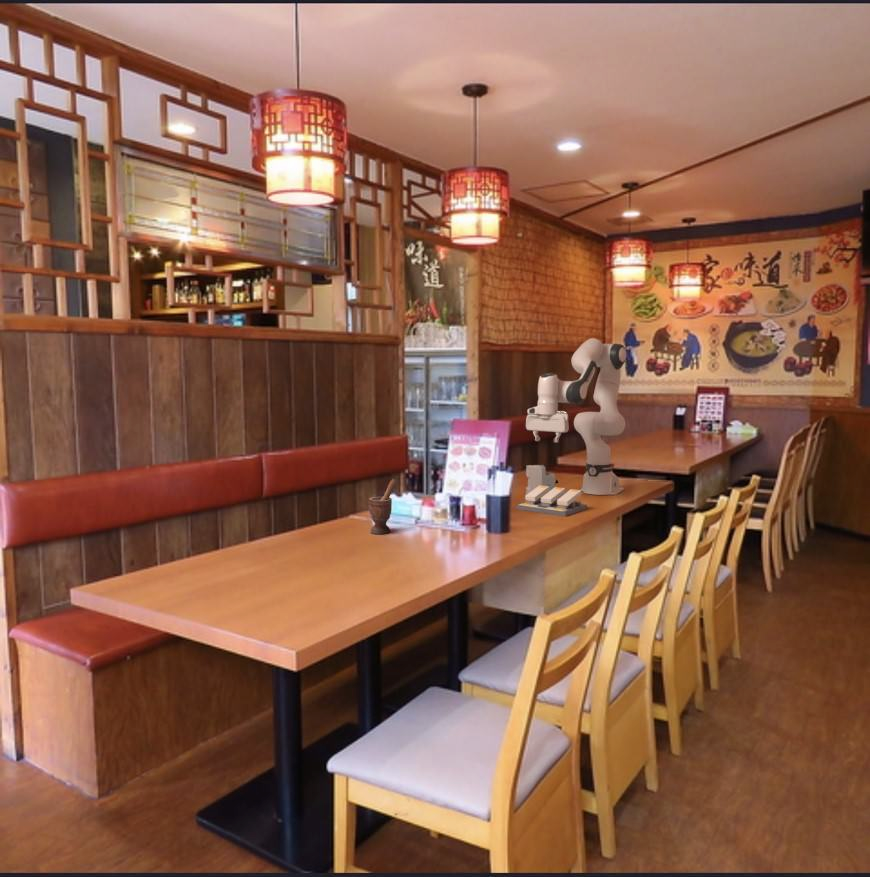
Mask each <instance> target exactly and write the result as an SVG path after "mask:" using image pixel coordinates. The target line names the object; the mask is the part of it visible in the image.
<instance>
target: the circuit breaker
mask: <svg viewBox="0 0 870 877" xmlns="http://www.w3.org/2000/svg"><path fill="white" fill-rule="evenodd" d="M525 470H526V471H525V475H526V478H528V479H527V486H526V487H525V496H526V495H527V494H528V493H530V492H531V491H532V490H534V489H535V488H536V487H538V486H539V485H542V486H549V489H550V491H551V490H552V489H553V488H555V487H556V484H559V480H558V479H556V475H555V474H554V473H553V472H546V471H547V470H546V466H544V464H533V465H531V464H529V465H526V468H525ZM548 492H549V491H548ZM548 492H547V493H548ZM543 496H544V495H543ZM543 496H542V497H543Z"/></svg>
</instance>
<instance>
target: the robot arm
mask: <svg viewBox="0 0 870 877" xmlns="http://www.w3.org/2000/svg"><path fill="white" fill-rule="evenodd" d="M627 352H628V351H627V349H626V347H625V345H623V344H621V343H603V342H602V341H601V340H600V339H597V338H594V337H591V338H588V339H587V340H585V341H584V342H583V343H582V344H581V345H580V346H579V347H578V348H577V349H576V350H575V352H574V353H573V355H572V356H571V361H570V362H571V366H572V368H573V369H574V371H575V372H577V373H578V374H580V376H579V378H578V379H577V380H561V379H559V377H558V375H557V373H554V372H552V373H551V372H548V373H543V374H541V375H540V376H539V379H538V383H537V396H538V397H537V398H538V400H537V406H533V407H530V408H528V409H527V410H526V411H527V416H526V418H525V428H526V430H527V431H532V433H533V435H534V436H533V437H535V438H534V440H535V442H540V441H541V437H540V436H539V434H538V433H539V432H554V433H555V435H556V436H555V437H554V438H553V443H559V439H560V437H561V435H562V433H568V431H570V429H569V426H570V425H569V414H568V412H566V410H565V411H564V410H558V407H559V404H558V403H561V404H572V405H573V404H574V405H580V404H582V403H583V402H584V401H585V400H586V398H587V395H588V392H589V389H590V387H591V384H592V383H593V380H594V378H595V377H596V374H597V371H598V368H600V371H599V374H598V375H597V380H596V383H595V387H594V393H593V397H592V398H593V400H594V403H596V405H598V406H599V407H600V411H583V412H579V413H577V414H576V415H575V417H574V419H573V426H574V429H575V431H576V432H578V434H580V435H581V437H582V439H583V441H584V443H585V447H586V463H585V473H584V474H583V480H582V487H581V488H580V490H581V492H582V493H584V494H589V495H597V496H599V495H600V496H601V495H602V496H604V495H606V496H607V495H618V494H619V493H621V492H623V491H624V490H625V488H624V487H621V486H620V481H619V477H618V476H617V475H616V474H615V473H614V472H613V468H615V463H612V462H611V452H612V450H611V446H609V444H607V443H605V442H604V440H603V439H602V436H607V437H608V436H609V437H612V436H618V435H619V436H620V435H621V434H622V433H623V432H624V430H625V429H626V420H625V417H624V416H623V415H622V414H621V413H620V411H619V409H618V404H617V402H618V394H619V389H620V386H621V379H622V378H621V372H622V371H621V368H622V367H623V365H624V364H625V363H626V360H627V357H628V353H627Z"/></svg>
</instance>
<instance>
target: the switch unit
mask: <svg viewBox="0 0 870 877" xmlns="http://www.w3.org/2000/svg"><path fill="white" fill-rule="evenodd" d="M558 499H559V498H558ZM558 499H557V500H558ZM557 500H555V501H554V502H553V503H552V504H550V503H542V502H541V498H539V499H538V500H537V501H528V500H525V501H524V502H522V503H518V504H516V510H518V511H519V510H520V511H526V512H534V513H539V514H545V515H546V514H548V515H555V516H560V517H568V516H570V515H575V514H577V513H580V512H583V511H586V510H588V504H586V503H585V504H583V503H582V502H581V501H576V500H575V501H573V502H572V503H571V504H570V505H568V506H564V505H557Z"/></svg>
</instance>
